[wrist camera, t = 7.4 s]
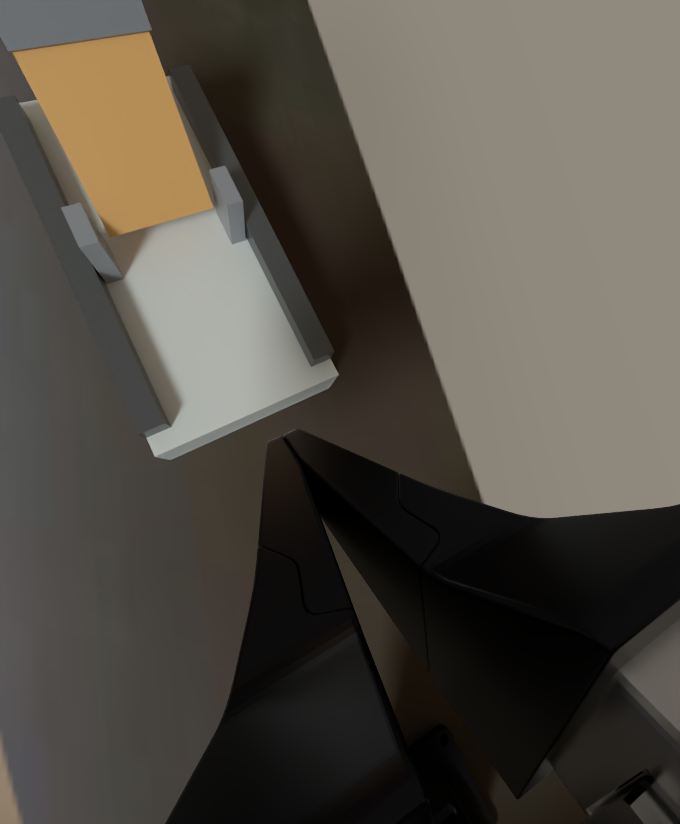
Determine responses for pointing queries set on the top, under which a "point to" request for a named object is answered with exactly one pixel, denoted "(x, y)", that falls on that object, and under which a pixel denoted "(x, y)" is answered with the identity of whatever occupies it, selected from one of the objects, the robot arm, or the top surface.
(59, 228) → the tray
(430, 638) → the robot arm
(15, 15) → the lever
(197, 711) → the top surface
